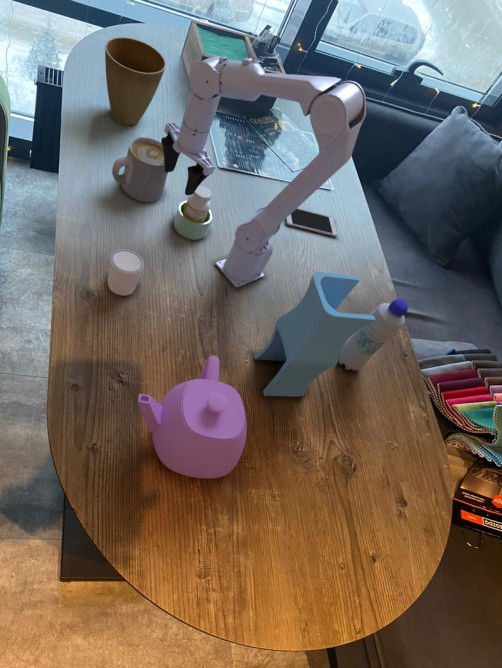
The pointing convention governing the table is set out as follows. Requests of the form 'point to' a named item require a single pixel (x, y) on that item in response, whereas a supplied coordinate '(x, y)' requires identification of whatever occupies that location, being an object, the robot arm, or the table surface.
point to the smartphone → (312, 222)
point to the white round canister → (124, 271)
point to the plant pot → (131, 77)
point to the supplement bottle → (198, 205)
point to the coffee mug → (142, 170)
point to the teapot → (198, 425)
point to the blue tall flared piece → (312, 334)
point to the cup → (191, 224)
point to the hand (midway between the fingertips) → (178, 182)
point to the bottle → (373, 334)
